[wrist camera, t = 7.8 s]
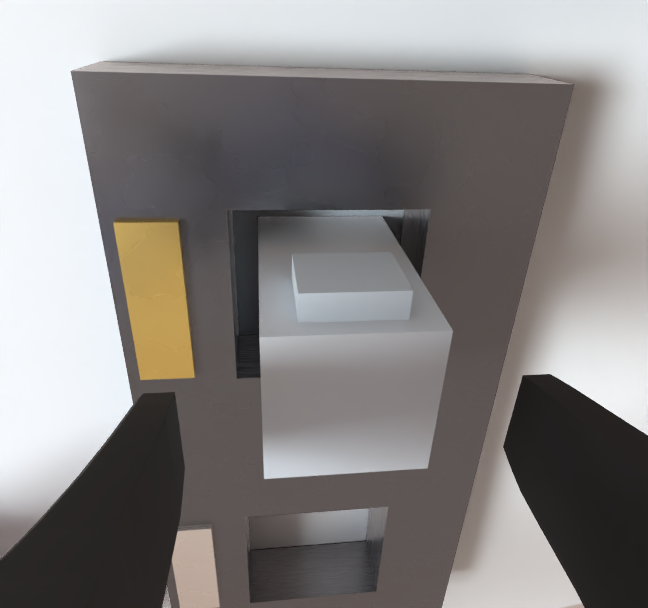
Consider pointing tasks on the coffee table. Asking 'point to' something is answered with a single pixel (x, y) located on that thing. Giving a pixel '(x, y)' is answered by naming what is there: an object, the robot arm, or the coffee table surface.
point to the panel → (244, 350)
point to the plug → (345, 349)
